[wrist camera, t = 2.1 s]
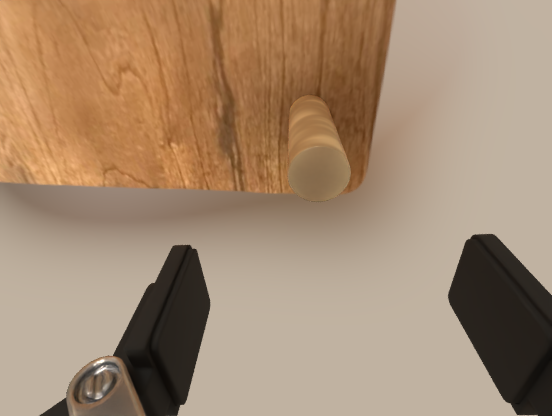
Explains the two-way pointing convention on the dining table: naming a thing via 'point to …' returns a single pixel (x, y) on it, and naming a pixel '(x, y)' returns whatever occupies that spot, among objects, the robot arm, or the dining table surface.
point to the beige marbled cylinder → (315, 152)
